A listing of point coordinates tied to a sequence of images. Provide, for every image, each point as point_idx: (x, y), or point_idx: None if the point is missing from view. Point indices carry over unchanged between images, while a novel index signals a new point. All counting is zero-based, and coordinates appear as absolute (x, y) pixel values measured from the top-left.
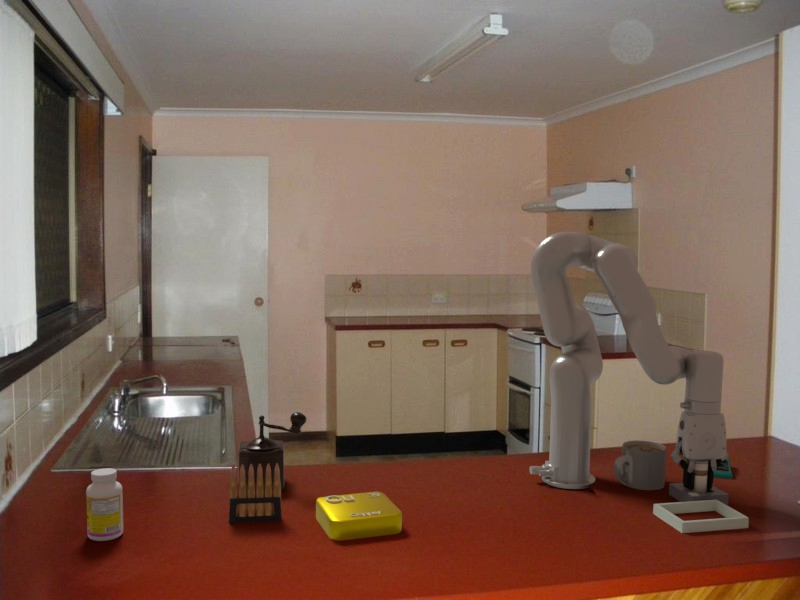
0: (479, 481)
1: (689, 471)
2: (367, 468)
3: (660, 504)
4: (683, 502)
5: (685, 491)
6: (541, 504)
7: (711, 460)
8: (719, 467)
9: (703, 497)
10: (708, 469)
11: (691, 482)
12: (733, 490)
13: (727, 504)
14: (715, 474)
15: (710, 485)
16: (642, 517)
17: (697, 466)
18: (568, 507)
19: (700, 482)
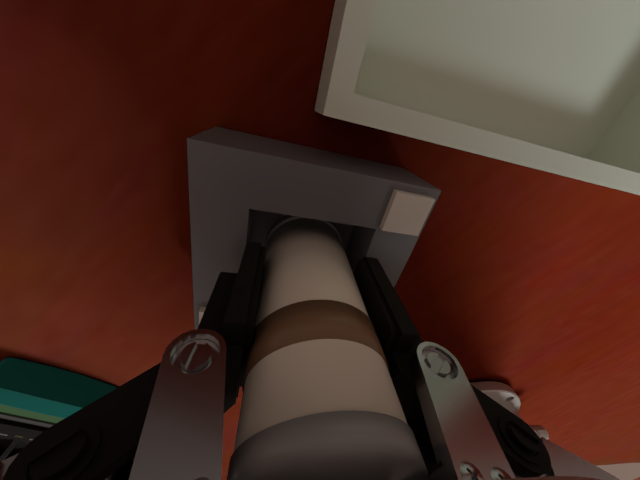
0: (570, 422)
1: (428, 353)
2: (610, 456)
3: (633, 177)
4: (527, 157)
5: (394, 261)
6: (634, 336)
7: (212, 470)
8: (5, 434)
9: (370, 174)
10: (240, 360)
11: (389, 285)
12: (40, 303)
13: (213, 130)
14: (57, 398)
15: (258, 252)
16: (586, 196)
17: (391, 388)
18: (622, 312)
19: (338, 271)
